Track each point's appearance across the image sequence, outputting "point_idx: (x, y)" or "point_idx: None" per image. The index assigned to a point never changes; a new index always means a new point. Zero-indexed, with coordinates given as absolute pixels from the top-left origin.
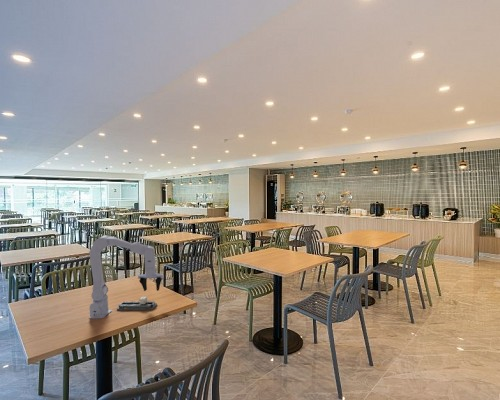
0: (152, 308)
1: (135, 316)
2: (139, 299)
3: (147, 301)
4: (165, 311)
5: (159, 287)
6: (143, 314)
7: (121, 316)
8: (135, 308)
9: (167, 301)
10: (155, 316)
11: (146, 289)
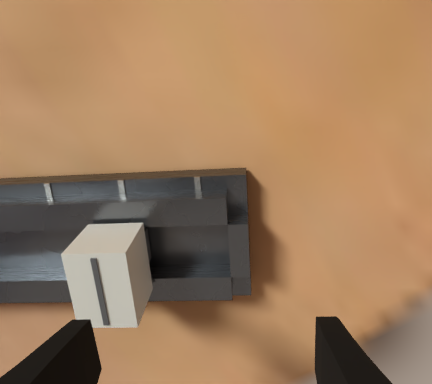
0: (250, 275)
1: (165, 371)
2: None
3: (136, 204)
4: (394, 292)
5: (353, 339)
6: (212, 343)
7: None
8: None
9: (324, 43)
10: None
11: (89, 331)
